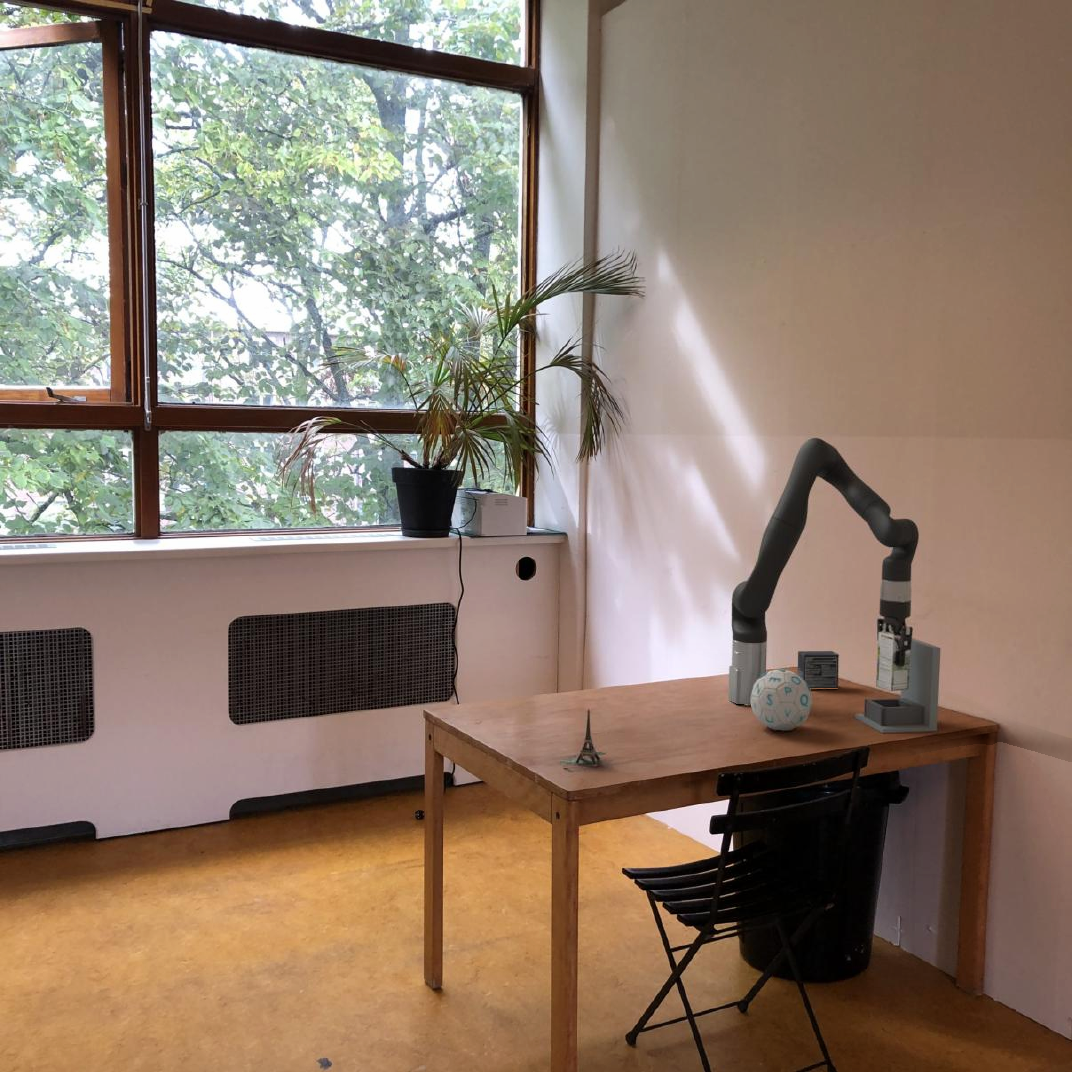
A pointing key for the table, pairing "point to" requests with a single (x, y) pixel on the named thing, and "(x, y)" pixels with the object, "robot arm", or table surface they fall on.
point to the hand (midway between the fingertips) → (893, 662)
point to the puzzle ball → (781, 700)
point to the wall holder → (910, 696)
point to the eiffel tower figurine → (584, 751)
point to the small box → (819, 668)
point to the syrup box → (891, 664)
